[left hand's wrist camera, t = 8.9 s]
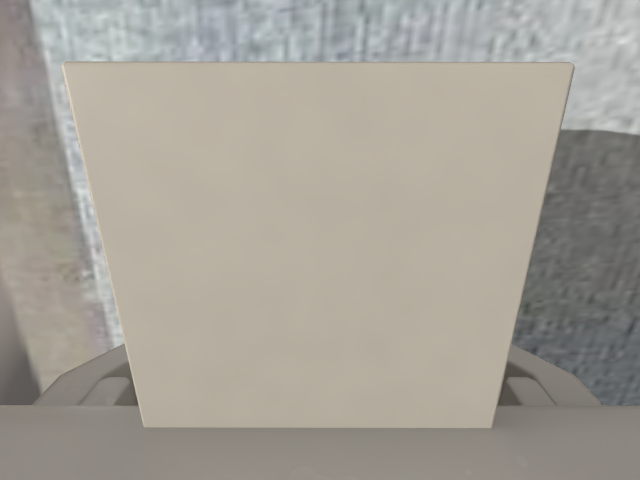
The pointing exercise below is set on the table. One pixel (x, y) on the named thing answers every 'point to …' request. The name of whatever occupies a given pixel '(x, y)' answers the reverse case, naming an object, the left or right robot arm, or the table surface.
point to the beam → (318, 233)
